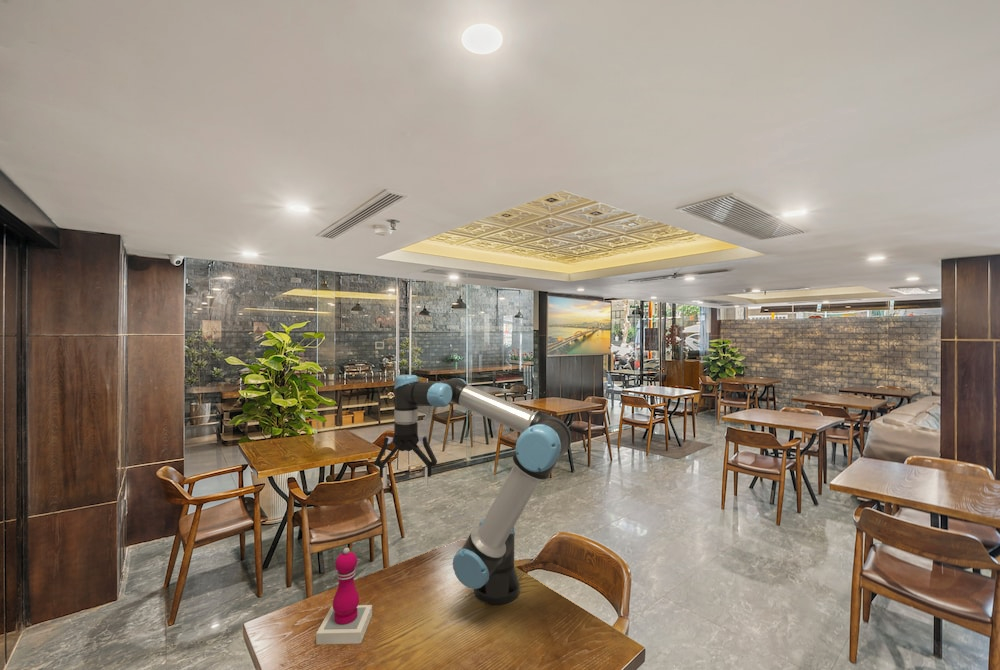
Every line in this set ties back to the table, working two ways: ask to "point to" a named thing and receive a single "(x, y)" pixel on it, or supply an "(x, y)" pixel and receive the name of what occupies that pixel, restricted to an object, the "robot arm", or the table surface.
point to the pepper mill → (346, 589)
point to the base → (344, 628)
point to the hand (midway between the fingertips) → (405, 486)
